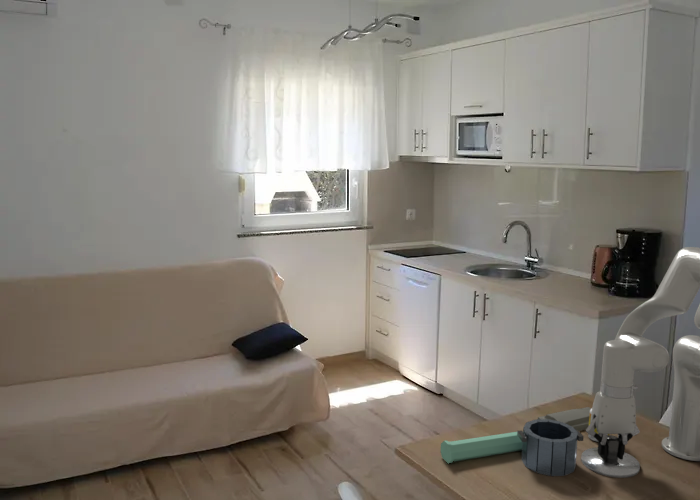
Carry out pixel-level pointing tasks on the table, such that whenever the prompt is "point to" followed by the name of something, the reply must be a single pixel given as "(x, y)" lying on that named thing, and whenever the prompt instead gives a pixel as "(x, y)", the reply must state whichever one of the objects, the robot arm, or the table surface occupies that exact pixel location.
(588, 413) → the soap mold
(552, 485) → the table surface
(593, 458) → the lid
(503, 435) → the mint green octagonal rod
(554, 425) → the pot
